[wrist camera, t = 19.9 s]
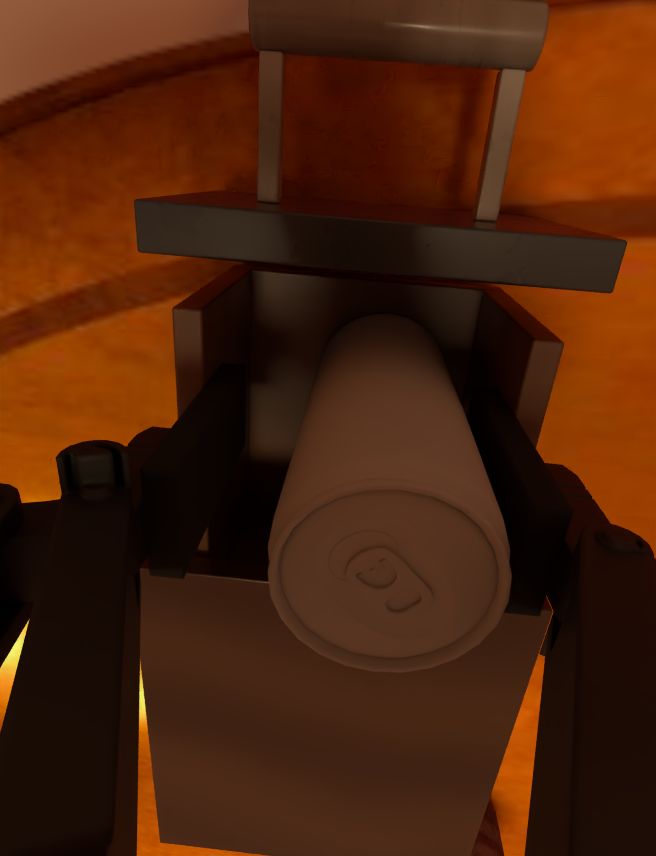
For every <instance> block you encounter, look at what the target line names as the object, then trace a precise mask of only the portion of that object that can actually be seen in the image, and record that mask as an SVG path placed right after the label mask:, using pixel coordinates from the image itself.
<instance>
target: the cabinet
mask: <svg viewBox="0 0 656 856" xmlns="http://www.w3.org/2000/svg"><path fill="white" fill-rule="evenodd" d="M268 567H269V564H259V563H250V562H240V561H231V560H221V559H211V558H202V557H194V558H193V560H192V562H191V564H190V566H189V568H188V571H187V573H186V575H185V577H184V579H176V578H167V577H158V576H150V574H149V563H148V556H147V558H146V560H145V561H144V563H143V565H142V567H141V568H140V578H141V625H140V661H141V670H142V679H143V688H144V698H145V707H146V716H147V725H148V734H149V744H150V753H151V762H152V771H153V781H154V790H155V799H156V808H157V817H158V827H159V836H160V842H161V843H169V844H177V845H186V846H194V847H202V848H211V849H219V850H227V851H236V852H244V853H252V854H261V855H269V856H470V855H471V852H472V849H473V846H474V843H475V840H476V837H477V834H478V831H479V828H480V825H481V822H482V819H483V816H484V813H485V810H486V807H487V804H488V801H489V798H490V795H491V792H492V789H493V787H494V784H495V781H496V778H497V775H498V772H499V769H500V766H501V763H502V760H503V757H504V754H505V751H506V748H507V745H508V742H509V739H510V736H511V733H512V730H513V727H514V724H515V721H516V718H517V716H518V713H519V710H520V707H521V704H522V701H523V698H524V695H525V692H526V689H527V686H528V683H529V680H530V677H531V674H532V671H533V668H534V665H535V662H536V659H537V656H538V653H539V650H540V647H541V645H542V642H543V639H544V636H545V633H546V630H547V627H548V624H549V621H550V618H551V615H552V609H551V606H550V604H549V602H548V599H547V597H546V598H545V602H544V605H543V608H542V611H541V614H540V617H539V616H529V615H520V614H510V613H504V612H503V614H502V616H501V618H500V621H499V623H498V625H497V626H496V627H495V628H494V629H493V630H492V631H491V632H490V633H489V634H488V635H487V636H486V638H485V639H484V640H483V641H482V642H481V643H480V644H479V645H477V646H475V647H474V648H472V649H471V650H469V651H468V652H466V653H465V654H463V655H461V656H460V657H458V658H457V659H454V660H451V661H448V662H446V663H443V664H440V665H437V666H435V667H432V668H428V669H421V670H415V671H408V672H374V671H369V670H364V669H359V668H355V667H350V666H346V665H343V664H341V663H339V662H336V661H334V660H332V659H329V658H327V657H325V656H323V655H320V654H319V653H317V652H316V651H314V650H313V649H312V648H310V647H309V646H307V645H306V644H305V643H303V642H302V641H300V640H299V639H298V638H297V637H296V636H295V635H294V634H293V633H292V631H291V630H290V629H289V628H288V627H287V626H286V624H285V623H284V622H283V621H282V620H281V618H280V616H279V614H278V611H277V609H276V607H275V605H274V603H273V601H272V599H271V596H270V589H269V580H268Z"/></svg>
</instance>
